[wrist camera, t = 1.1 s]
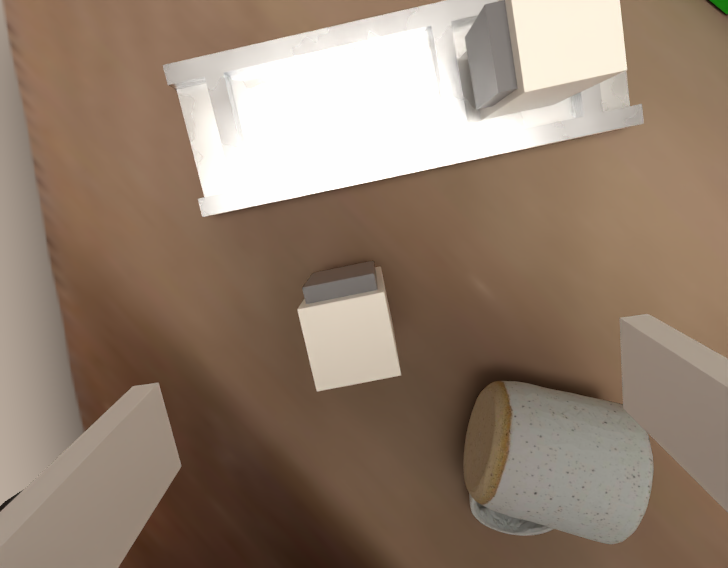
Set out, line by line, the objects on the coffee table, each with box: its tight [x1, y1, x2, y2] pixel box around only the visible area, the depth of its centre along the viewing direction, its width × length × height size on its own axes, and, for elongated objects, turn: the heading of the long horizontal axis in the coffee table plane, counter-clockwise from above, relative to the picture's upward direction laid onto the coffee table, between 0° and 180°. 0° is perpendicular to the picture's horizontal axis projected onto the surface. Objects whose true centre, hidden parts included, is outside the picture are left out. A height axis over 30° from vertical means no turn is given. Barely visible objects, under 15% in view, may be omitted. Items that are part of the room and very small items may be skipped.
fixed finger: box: [465, 0, 627, 120], centre depth 23 cm, size 4×5×8 cm
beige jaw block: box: [297, 261, 401, 391], centre depth 27 cm, size 4×5×8 cm
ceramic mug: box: [463, 381, 653, 544], centre depth 29 cm, size 11×8×8 cm
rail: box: [163, 0, 644, 217], centre depth 28 cm, size 8×24×2 cm, turn 102°
